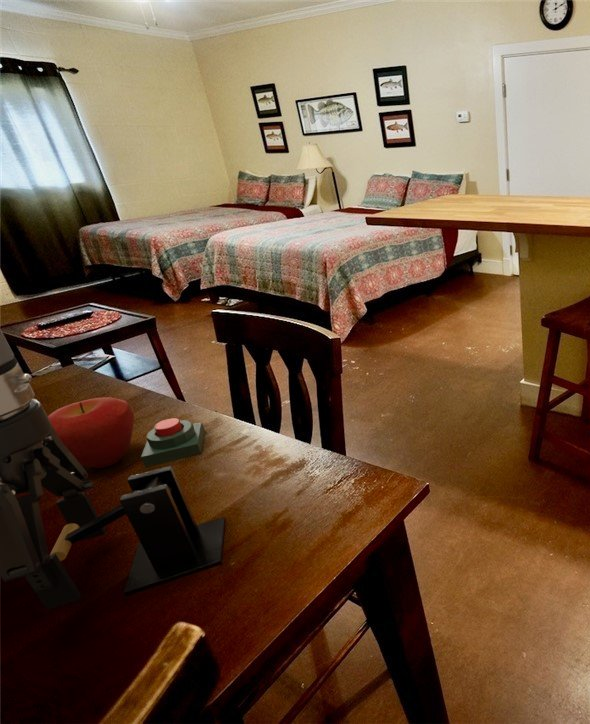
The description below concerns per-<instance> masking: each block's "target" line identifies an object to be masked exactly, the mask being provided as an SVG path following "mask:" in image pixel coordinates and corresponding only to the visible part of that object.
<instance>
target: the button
mask: <svg viewBox="0 0 590 724" xmlns="http://www.w3.org/2000/svg"><path fill="white" fill-rule="evenodd" d="M180 420H181V419H179V418H173V417H172V418H167V419H163V420H161V421H159V422H158V423H156V424H155V425H154V427H153V429H154V428H155V430H156V433H157V435H158V436H159V437H166V436H170V435H173V434H176V433H178V432H180V431H181V430H182V425H181V423H180Z"/></svg>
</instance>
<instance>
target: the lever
mask: <svg viewBox="0 0 590 724" xmlns="http://www.w3.org/2000/svg"><path fill="white" fill-rule="evenodd" d="M165 484H166V483H165V482H164V481H163V480H162V479H161V478H159V477H156V478H154V479H152V480H150V481H148V482H147V483H145V484H143V485H141V486H139V487H137V488H136V489H135V490H134V492H138V491H142V490H146V489H149V488H153V487H157V486H161V485H165ZM167 486H168V488H169V491H170V493H171V490H172V488H171V487H170V486H169V485H168V484H167ZM124 516H127V515H126V513H125V511H124V509H123V507H122V505H121V504H119V505H118V506H116V507H114V508H112V509H111V510H108V511H107V512H104V513H103V514H101V515H99V517H98V518H96V519H94V520H92V521H90V522H89V523H87V524H85V525H83V526H81V527H80V528H79V526H78V525H77V524H74V523H71V524H68V523H67V524H66V525H64V526H63V527H62V530H61V532H60V534H59V536H58V538H57V540H56V542H55V544H54V546H53V547H52V549H51V551H50V552H49V556H50V555H53V554H56V555H57V557H58V559H59V560H60V562H62V561H64V560H65V559H67V556H68V554H69V552H70V549H71V547H72V545H73V544H75V543H78V541H79V540H81V539H83V538H84V537H86V536H88V535H90V534H92V533H93V532H95V531H97V530H99V529H101V528H102V527H106V526H108V525H109V524H111V523H113V522H115V521H117V520H119V519H120V518H122V517H124Z"/></svg>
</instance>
